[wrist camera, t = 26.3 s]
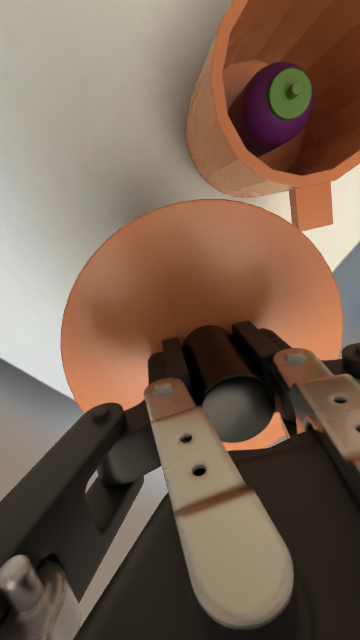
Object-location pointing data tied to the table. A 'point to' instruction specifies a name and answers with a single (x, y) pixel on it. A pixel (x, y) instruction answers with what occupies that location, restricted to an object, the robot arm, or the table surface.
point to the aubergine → (272, 107)
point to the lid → (199, 310)
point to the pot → (327, 112)
